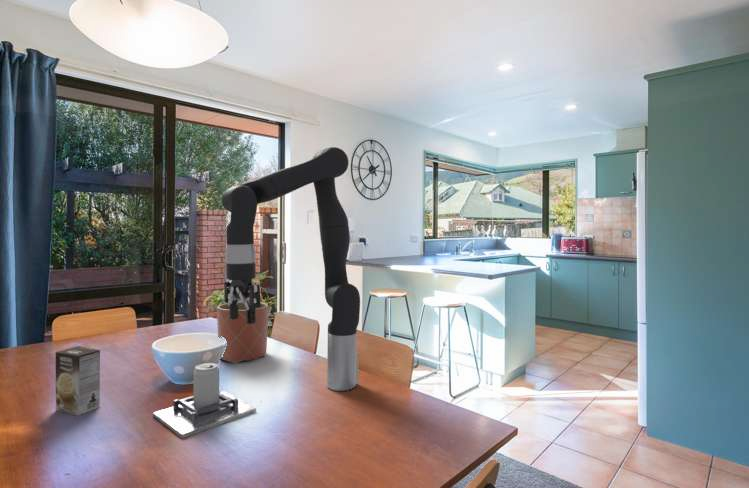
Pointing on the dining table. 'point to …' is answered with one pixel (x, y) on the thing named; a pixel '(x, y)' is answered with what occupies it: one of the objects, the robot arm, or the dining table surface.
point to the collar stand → (193, 421)
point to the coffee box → (77, 380)
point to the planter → (243, 333)
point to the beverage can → (206, 385)
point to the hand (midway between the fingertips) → (242, 321)
